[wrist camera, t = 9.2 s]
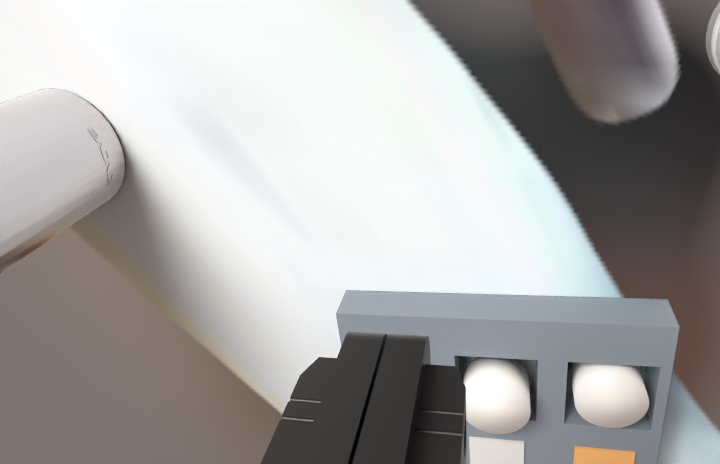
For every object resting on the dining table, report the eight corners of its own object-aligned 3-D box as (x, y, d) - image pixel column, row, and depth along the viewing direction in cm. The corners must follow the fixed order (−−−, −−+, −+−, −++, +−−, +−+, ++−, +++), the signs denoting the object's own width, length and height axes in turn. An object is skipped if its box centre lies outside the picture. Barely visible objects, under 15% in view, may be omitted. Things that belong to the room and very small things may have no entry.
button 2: (568, 394, 42) (572, 425, 39) (572, 344, 40) (576, 373, 37) (636, 399, 41) (645, 431, 38) (643, 348, 38) (653, 378, 36)
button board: (369, 442, 50) (361, 472, 47) (346, 290, 43) (335, 315, 40) (641, 469, 44) (650, 505, 41) (667, 299, 37) (680, 328, 34)
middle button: (464, 400, 42) (462, 431, 40) (462, 352, 40) (459, 381, 38) (528, 405, 41) (529, 437, 39) (529, 356, 39) (531, 386, 37)
